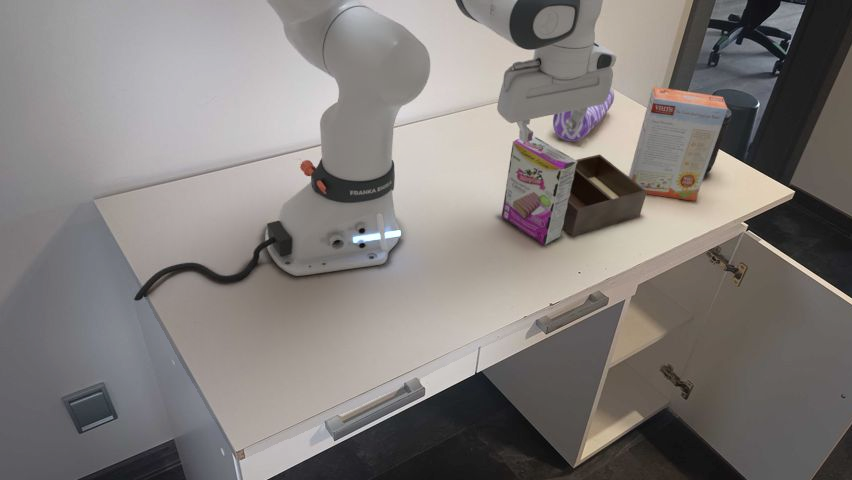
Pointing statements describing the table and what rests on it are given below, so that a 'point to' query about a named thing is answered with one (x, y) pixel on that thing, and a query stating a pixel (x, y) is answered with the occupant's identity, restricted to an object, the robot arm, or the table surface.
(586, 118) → the pencil case
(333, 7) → the robot arm
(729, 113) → the camera lens
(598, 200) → the divided storage box
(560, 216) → the candy bar box
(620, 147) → the table surface
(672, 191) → the cracker box
